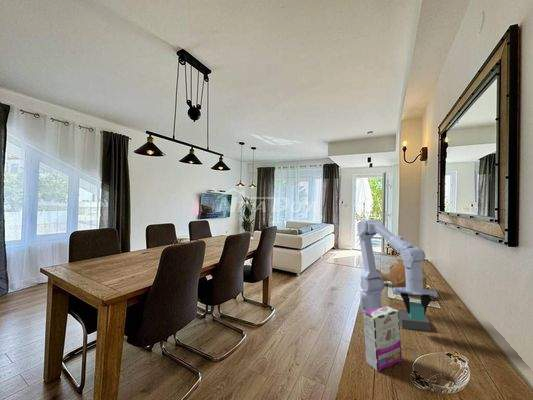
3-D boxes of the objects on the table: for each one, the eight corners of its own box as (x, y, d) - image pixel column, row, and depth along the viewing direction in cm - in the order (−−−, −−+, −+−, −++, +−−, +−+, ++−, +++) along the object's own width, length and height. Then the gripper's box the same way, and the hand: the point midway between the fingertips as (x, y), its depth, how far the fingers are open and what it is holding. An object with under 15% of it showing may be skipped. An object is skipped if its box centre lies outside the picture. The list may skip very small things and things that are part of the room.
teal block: (411, 319, 89) (410, 305, 89) (407, 313, 93) (407, 301, 93) (424, 320, 88) (423, 307, 88) (420, 315, 92) (420, 302, 92)
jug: (415, 280, 119) (362, 275, 143) (430, 305, 123) (376, 296, 148) (424, 252, 130) (374, 252, 154) (437, 276, 134) (386, 272, 158)
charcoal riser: (402, 328, 95) (401, 319, 96) (396, 317, 105) (396, 309, 105) (430, 331, 92) (429, 322, 93) (422, 319, 102) (421, 311, 102)
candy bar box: (388, 353, 80) (386, 304, 80) (402, 362, 75) (399, 310, 76) (364, 362, 75) (362, 311, 76) (377, 372, 70) (374, 317, 71)
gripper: (395, 280, 89) (397, 315, 89) (439, 282, 85) (441, 320, 84) (391, 275, 96) (393, 308, 96) (432, 277, 92) (434, 312, 91)
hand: (415, 313), depth 90 cm, fingers closed on teal block, 4 cm apart
